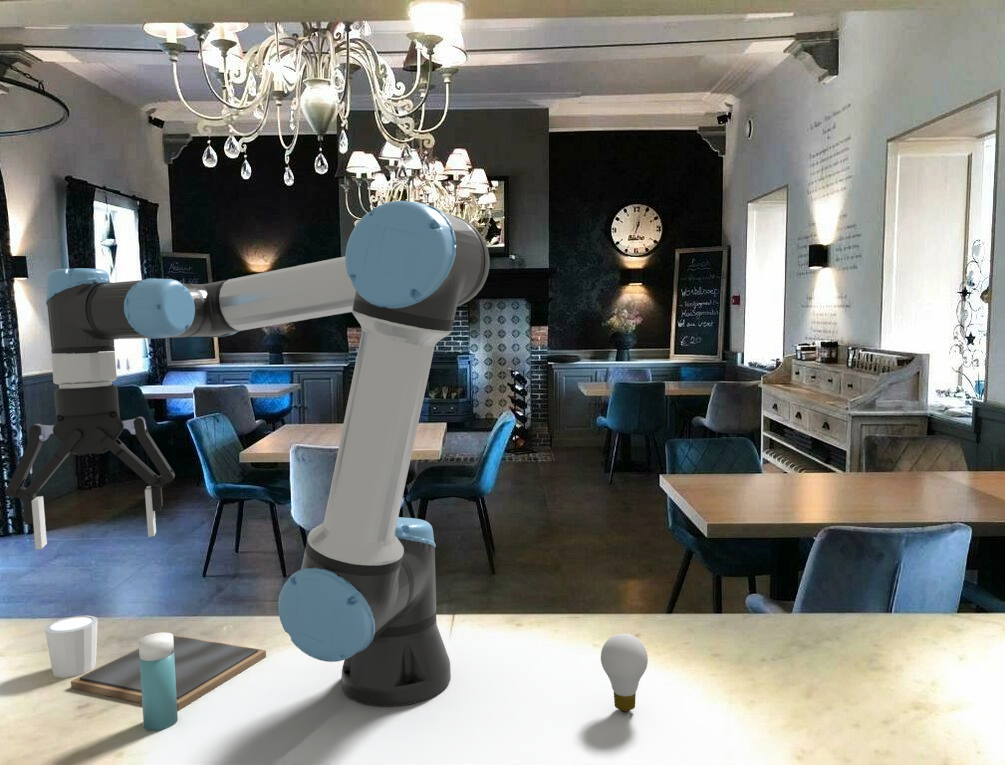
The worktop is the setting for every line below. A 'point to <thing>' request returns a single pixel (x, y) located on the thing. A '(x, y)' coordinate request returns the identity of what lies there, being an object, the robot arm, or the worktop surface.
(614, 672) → the light bulb
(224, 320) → the robot arm
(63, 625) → the white tapered cup
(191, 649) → the slate board
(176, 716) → the teal bottle
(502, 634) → the worktop surface
